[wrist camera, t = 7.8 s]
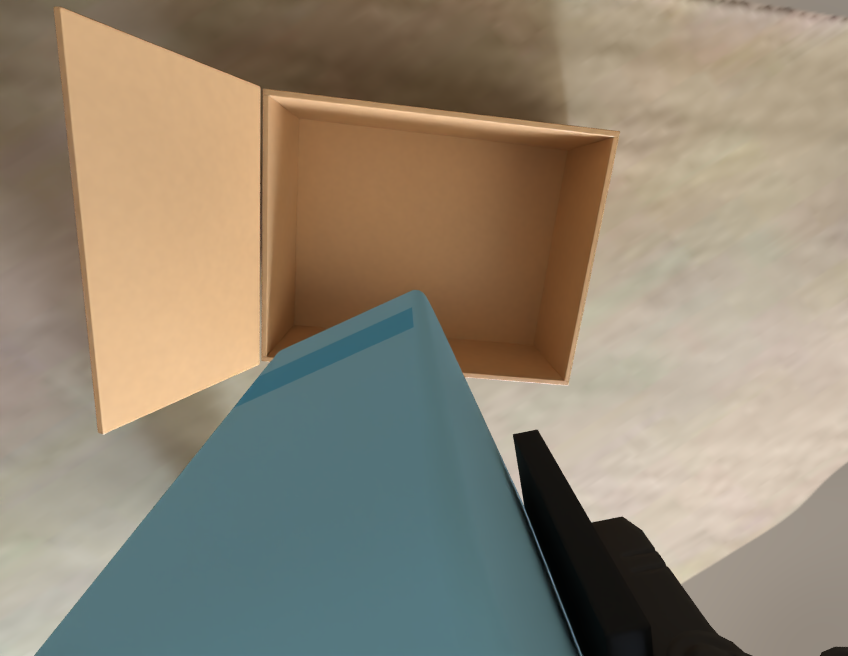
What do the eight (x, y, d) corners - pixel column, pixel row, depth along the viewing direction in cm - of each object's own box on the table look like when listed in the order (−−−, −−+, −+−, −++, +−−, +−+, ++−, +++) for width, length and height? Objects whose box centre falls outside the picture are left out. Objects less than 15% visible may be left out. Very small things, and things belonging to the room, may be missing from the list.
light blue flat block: (285, 337, 14) (-262, 995, 2) (418, 276, 14) (502, 709, 2) (441, 609, 17) (520, 1441, 6) (552, 566, 17) (872, 1356, 5)
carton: (291, 327, 34) (261, 361, 27) (296, 114, 30) (262, 88, 23) (535, 347, 35) (568, 385, 28) (571, 146, 31) (620, 131, 24)
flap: (259, 364, 26) (255, 363, 26) (260, 86, 22) (255, 86, 22) (103, 434, 18) (97, 432, 18) (59, 6, 14) (52, 6, 14)
